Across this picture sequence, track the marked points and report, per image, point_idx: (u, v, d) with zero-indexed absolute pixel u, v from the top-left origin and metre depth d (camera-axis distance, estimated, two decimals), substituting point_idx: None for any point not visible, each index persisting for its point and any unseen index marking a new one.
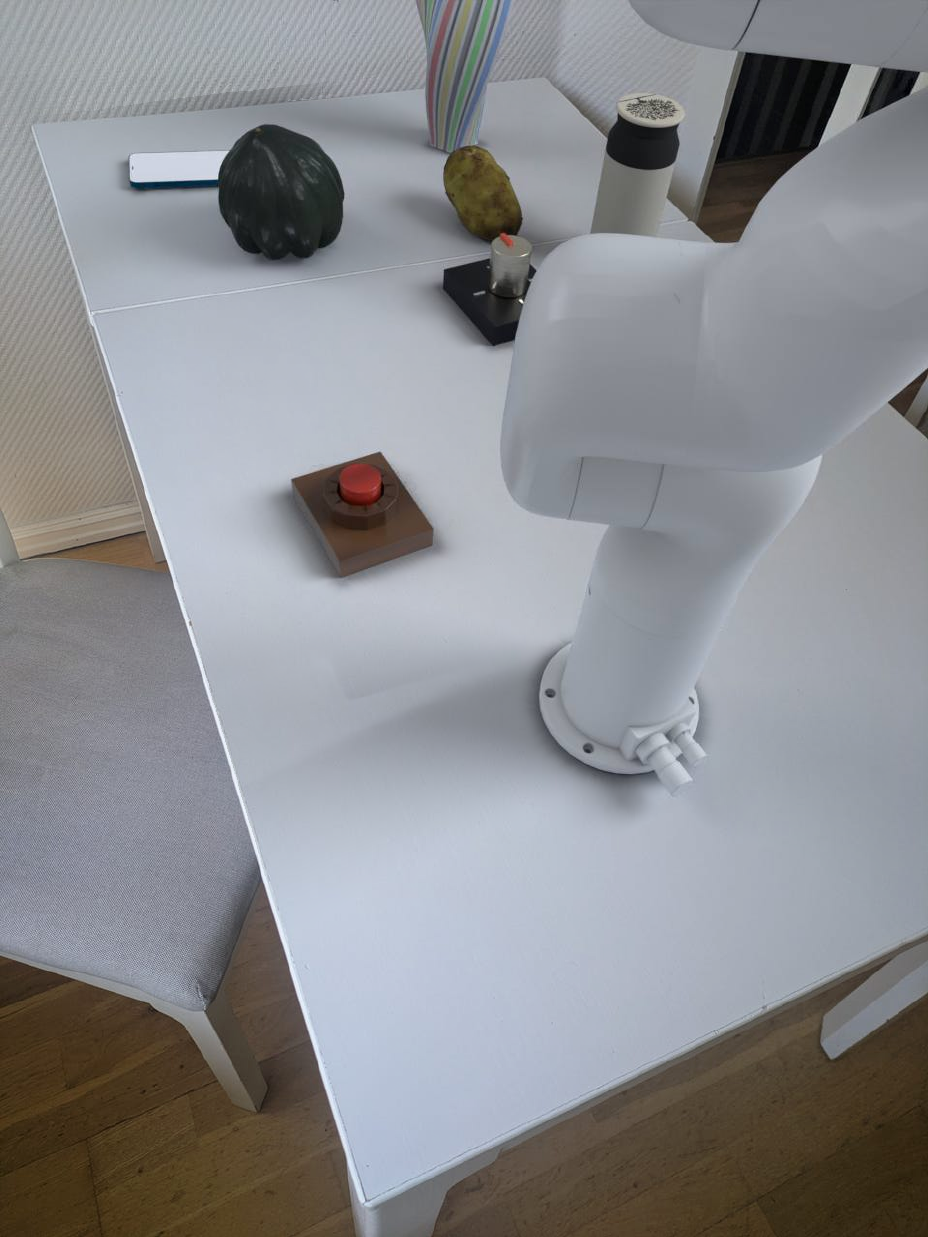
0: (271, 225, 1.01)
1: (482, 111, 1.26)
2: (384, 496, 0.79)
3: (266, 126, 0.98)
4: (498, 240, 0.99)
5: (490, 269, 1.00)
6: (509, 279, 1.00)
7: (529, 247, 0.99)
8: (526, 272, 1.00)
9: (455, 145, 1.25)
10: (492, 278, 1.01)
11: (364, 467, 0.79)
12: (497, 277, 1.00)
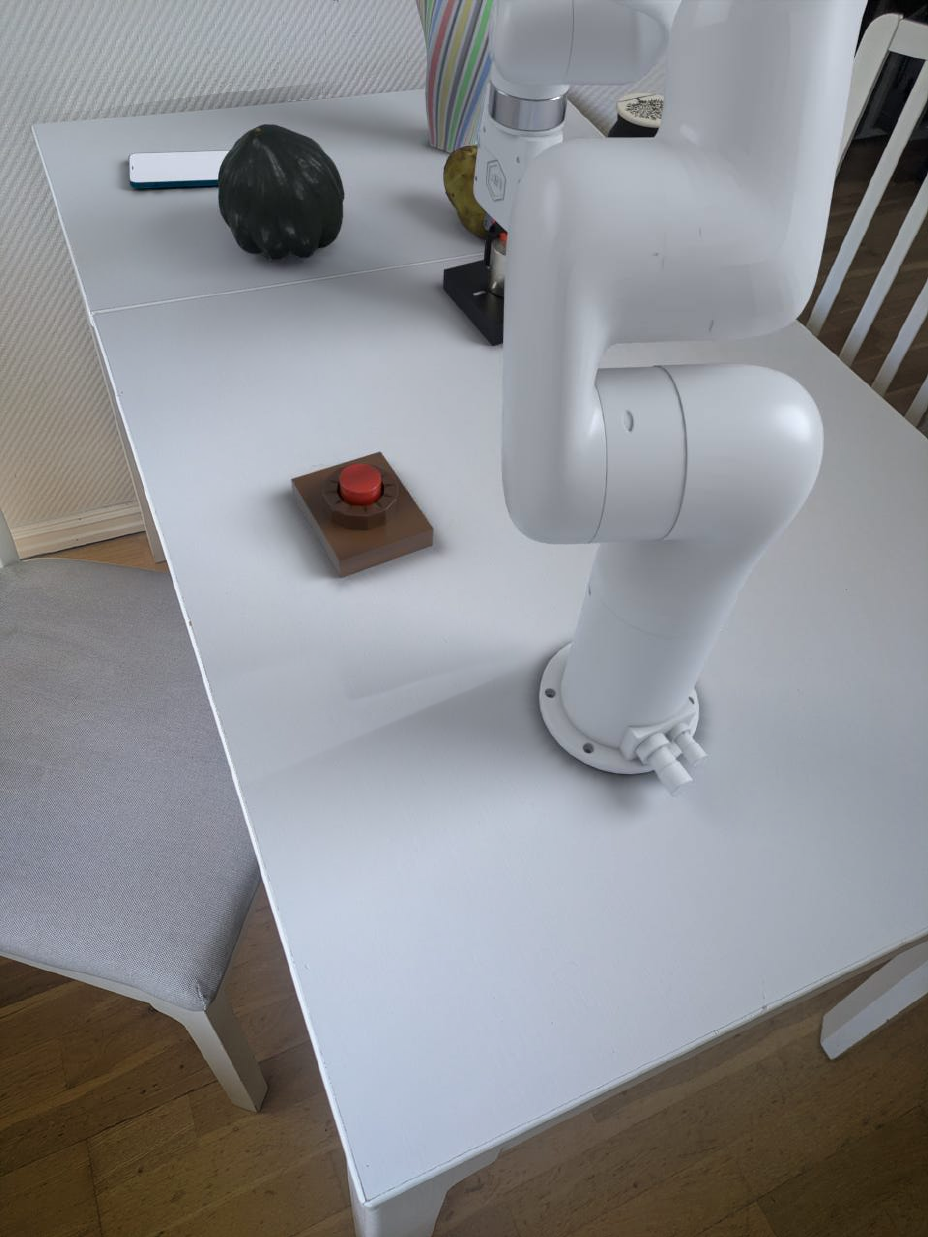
0: (270, 225, 1.01)
1: (482, 111, 1.26)
2: (384, 496, 0.79)
3: (266, 126, 0.98)
4: (498, 240, 0.99)
5: (490, 269, 1.00)
6: None
7: None
8: None
9: (455, 145, 1.25)
10: (492, 278, 1.01)
11: (364, 467, 0.79)
12: (497, 277, 1.00)
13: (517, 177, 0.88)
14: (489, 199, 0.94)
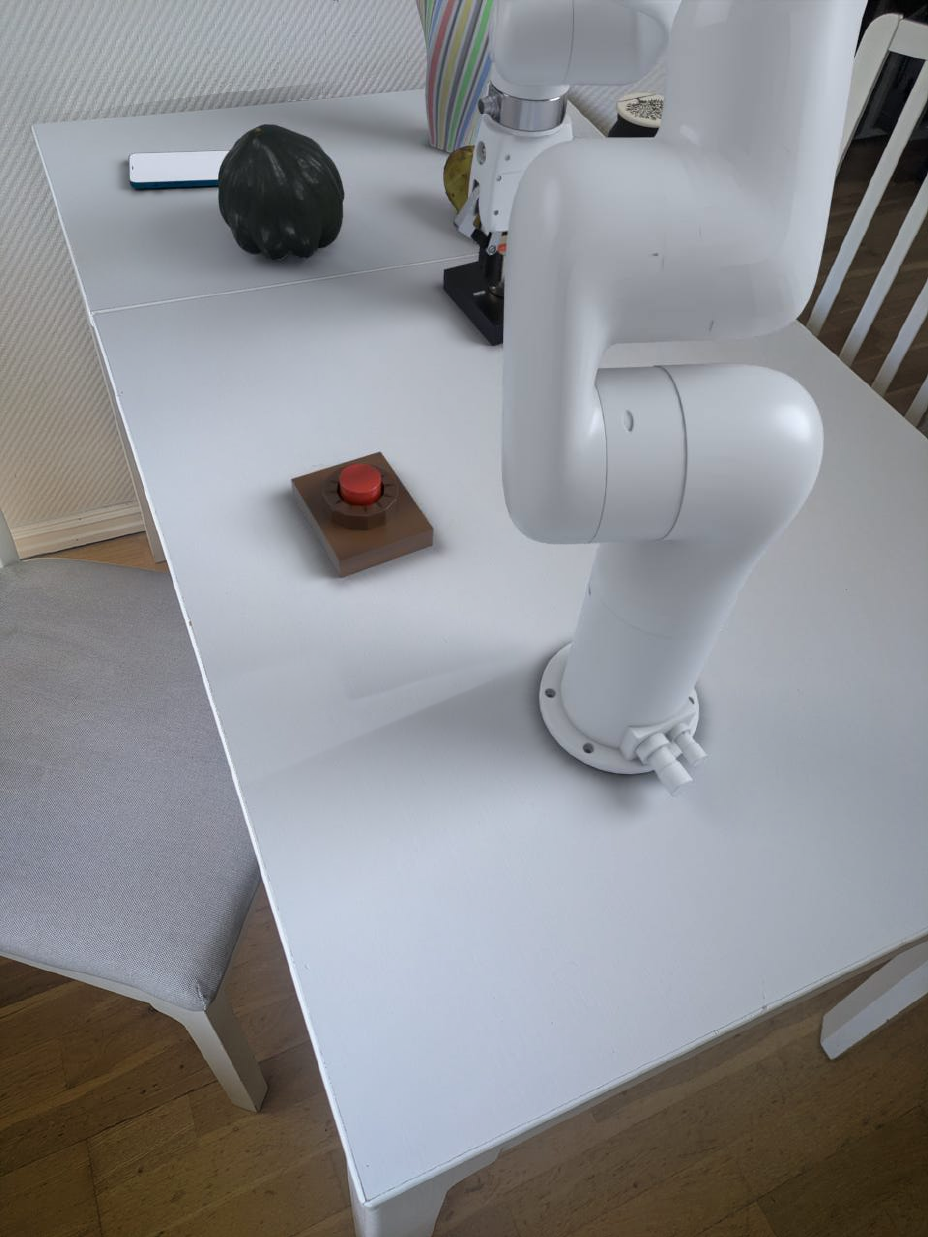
0: (270, 225, 1.01)
1: None
2: (384, 496, 0.79)
3: (266, 126, 0.98)
4: (503, 252, 0.98)
5: None
6: None
7: None
8: None
9: (455, 145, 1.25)
10: None
11: (364, 467, 0.79)
12: None
13: None
14: None
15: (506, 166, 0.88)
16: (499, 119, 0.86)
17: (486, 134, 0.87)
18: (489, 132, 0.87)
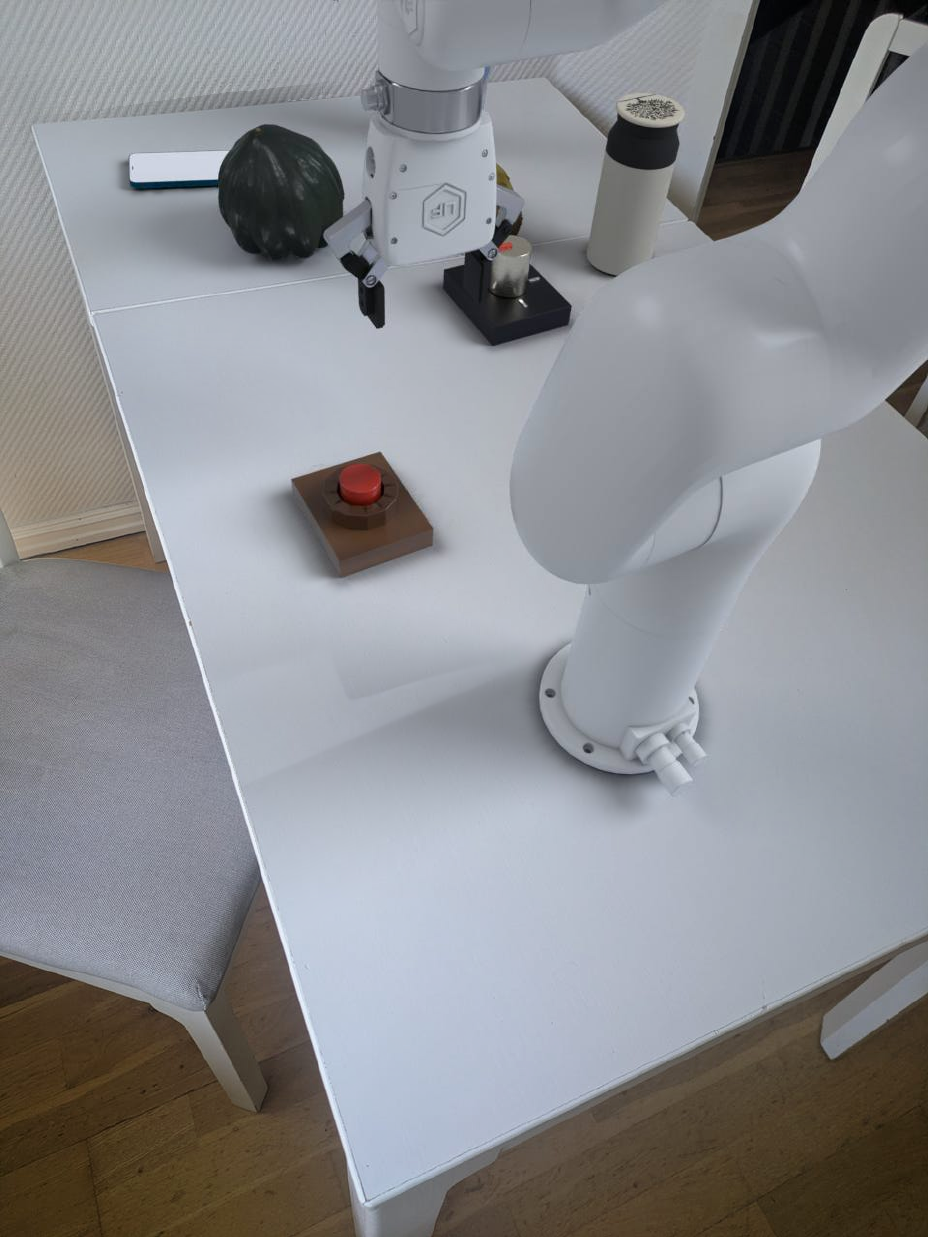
0: (270, 225, 1.01)
1: None
2: (384, 496, 0.79)
3: (266, 126, 0.98)
4: (503, 252, 0.98)
5: (514, 278, 1.00)
6: (528, 269, 1.01)
7: (513, 236, 1.00)
8: None
9: None
10: (519, 283, 1.00)
11: (364, 467, 0.79)
12: (524, 277, 1.00)
13: (486, 174, 0.69)
14: (433, 241, 0.71)
15: (402, 180, 0.66)
16: (389, 117, 0.64)
17: (374, 137, 0.65)
18: (377, 135, 0.65)
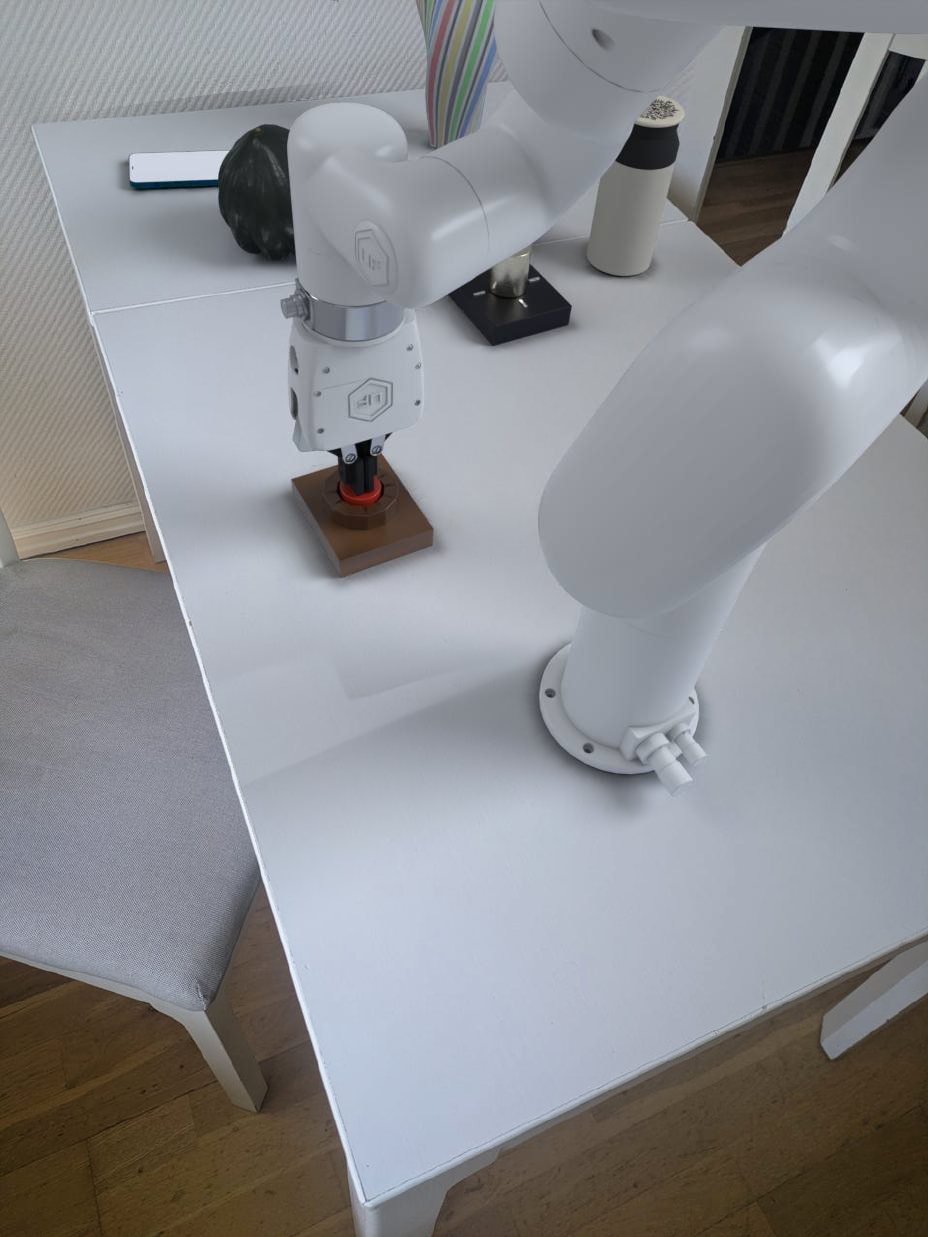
0: (270, 225, 1.01)
1: (482, 111, 1.26)
2: (384, 496, 0.79)
3: (266, 126, 0.98)
4: None
5: (514, 278, 1.00)
6: (528, 269, 1.01)
7: None
8: None
9: None
10: (519, 283, 1.00)
11: None
12: (524, 277, 1.00)
13: (412, 365, 0.69)
14: (360, 427, 0.70)
15: (326, 380, 0.66)
16: (310, 324, 0.63)
17: (296, 339, 0.65)
18: (299, 339, 0.64)
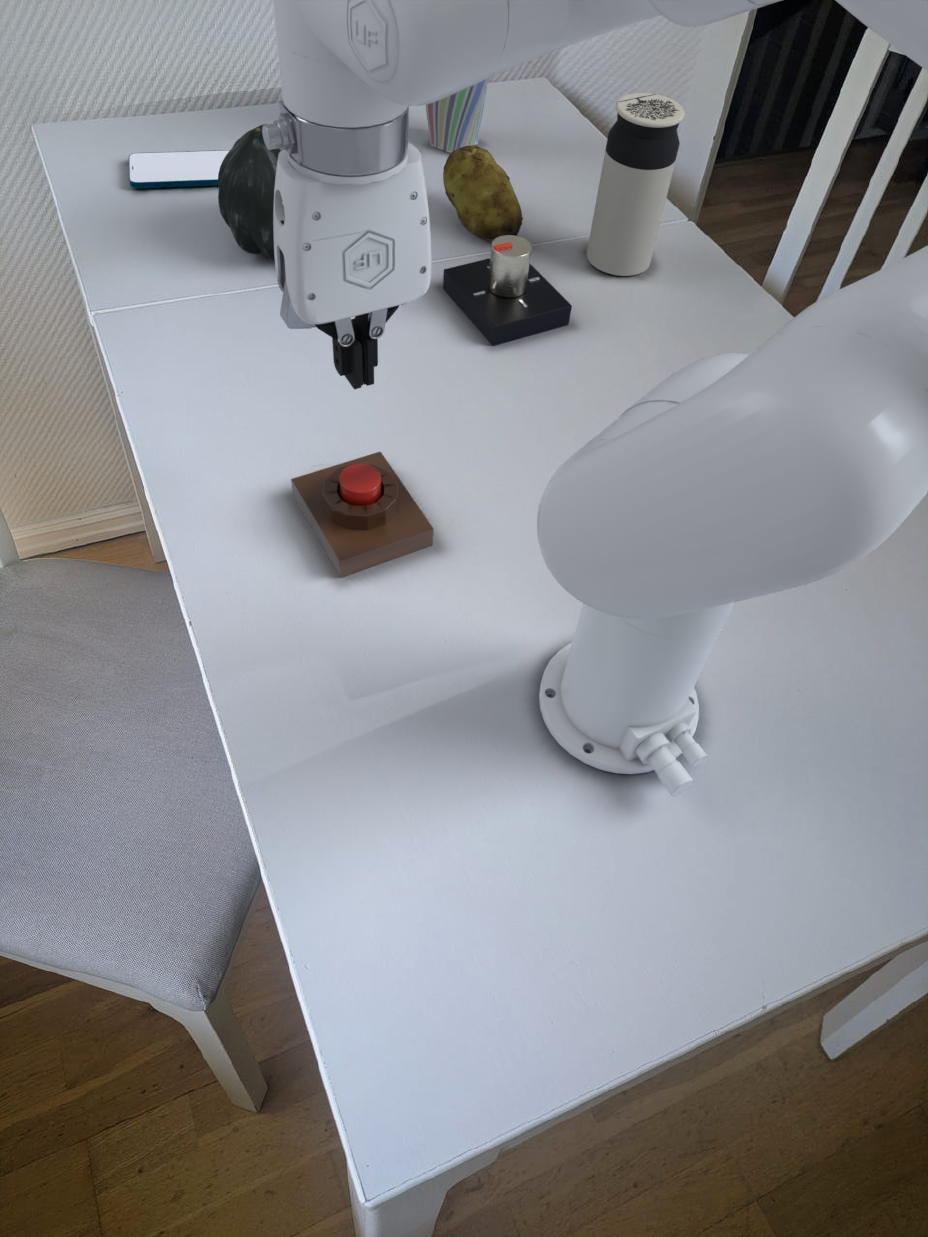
0: (270, 225, 1.01)
1: (482, 111, 1.26)
2: (384, 496, 0.79)
3: None
4: (503, 252, 0.98)
5: (514, 278, 1.00)
6: (528, 269, 1.01)
7: (513, 236, 1.00)
8: None
9: (455, 145, 1.25)
10: (519, 283, 1.00)
11: (364, 467, 0.79)
12: (524, 277, 1.00)
13: (417, 219, 0.59)
14: (358, 295, 0.61)
15: (317, 229, 0.56)
16: (297, 157, 0.54)
17: (281, 179, 0.55)
18: (284, 178, 0.55)
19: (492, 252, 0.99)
